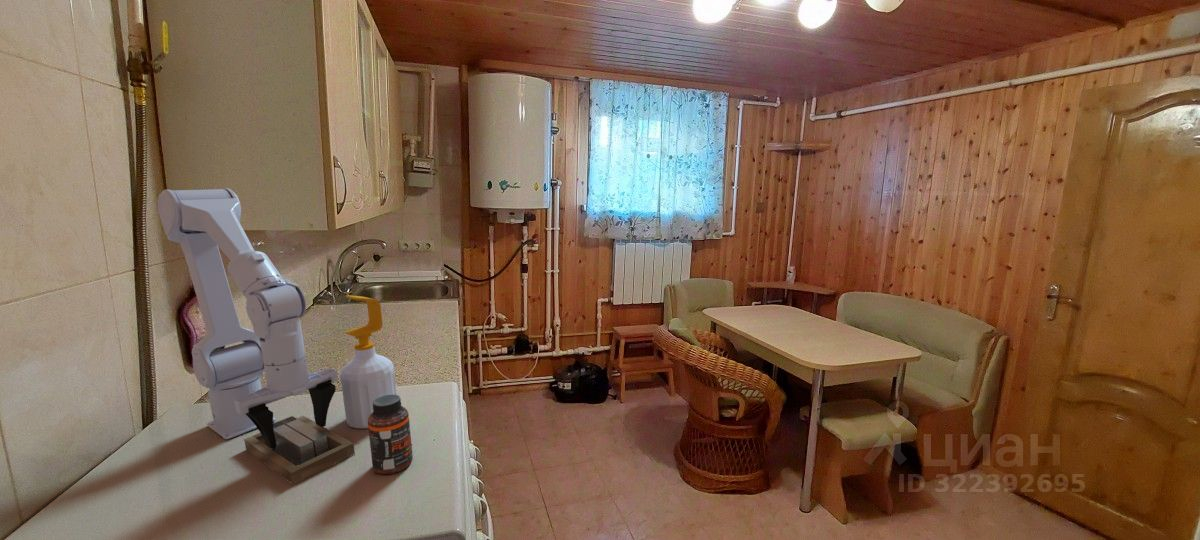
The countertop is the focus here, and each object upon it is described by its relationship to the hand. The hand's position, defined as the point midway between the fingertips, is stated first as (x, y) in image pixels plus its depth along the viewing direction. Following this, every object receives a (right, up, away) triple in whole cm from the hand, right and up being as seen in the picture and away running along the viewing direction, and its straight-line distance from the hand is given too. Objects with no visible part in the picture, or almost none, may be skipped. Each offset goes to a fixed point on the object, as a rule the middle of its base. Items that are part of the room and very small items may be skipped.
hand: (297, 435), depth 78 cm
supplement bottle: (+18, -4, -3) cm, 18 cm away
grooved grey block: (0, -3, +1) cm, 3 cm away
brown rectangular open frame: (0, -3, +1) cm, 3 cm away
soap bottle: (+7, -1, +12) cm, 14 cm away
